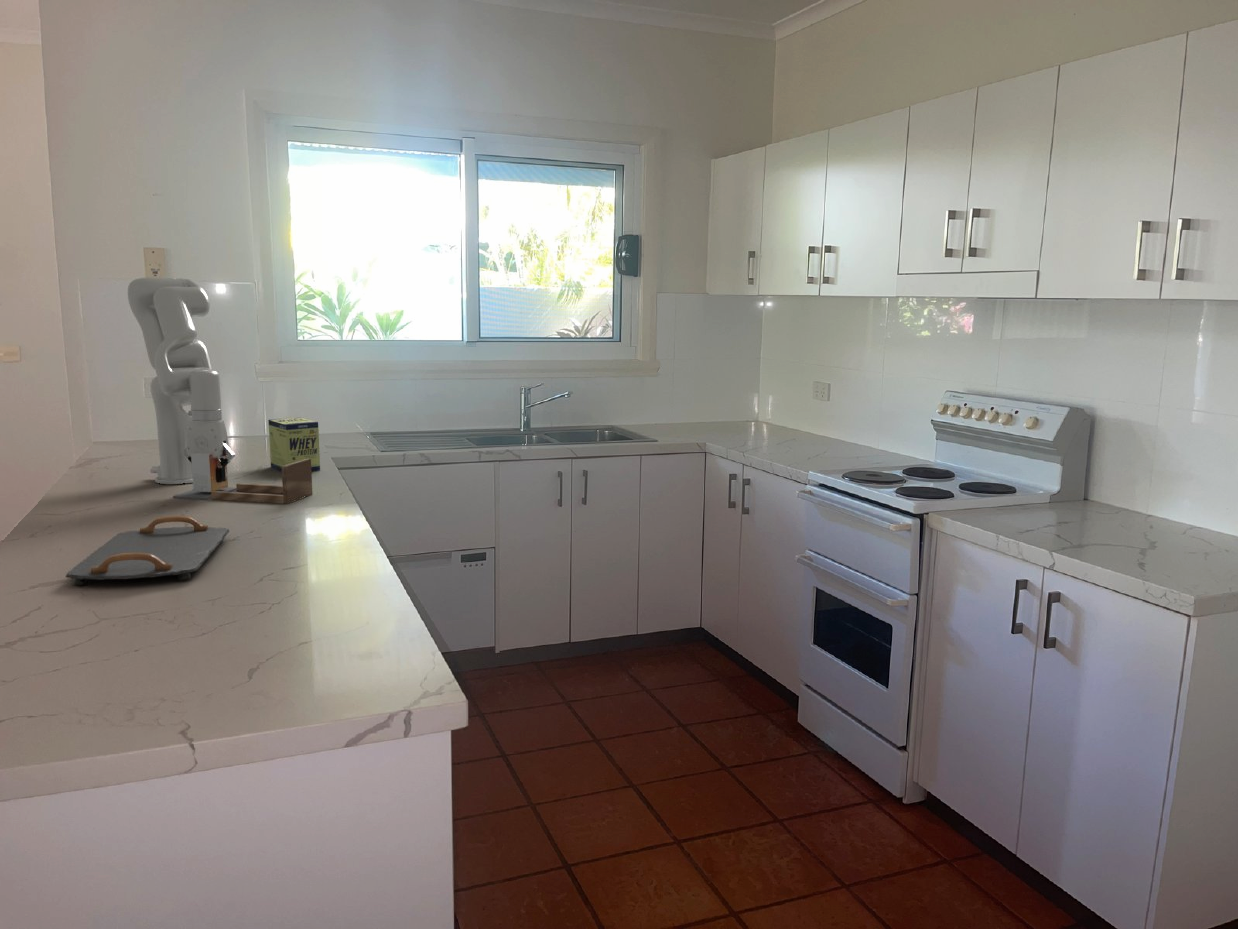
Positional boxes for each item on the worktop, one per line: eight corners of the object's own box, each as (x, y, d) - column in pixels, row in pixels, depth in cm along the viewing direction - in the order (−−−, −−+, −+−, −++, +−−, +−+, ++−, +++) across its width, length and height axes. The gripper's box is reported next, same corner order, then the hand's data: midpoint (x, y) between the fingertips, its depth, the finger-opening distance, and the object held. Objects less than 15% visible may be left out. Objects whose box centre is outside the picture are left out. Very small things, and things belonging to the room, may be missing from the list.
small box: (211, 493, 247) (208, 454, 245) (192, 491, 248) (190, 453, 246) (229, 487, 255) (226, 450, 253) (211, 485, 256) (208, 448, 254)
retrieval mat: (173, 497, 246) (173, 495, 246) (206, 487, 260) (206, 486, 260) (206, 499, 244) (206, 497, 244) (237, 489, 258) (237, 487, 258)
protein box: (288, 474, 282) (286, 424, 279) (269, 467, 294) (267, 419, 291) (321, 470, 289) (319, 421, 286) (301, 463, 300) (299, 416, 298)
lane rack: (211, 499, 245) (208, 462, 243) (239, 490, 257) (237, 455, 255) (287, 503, 240) (285, 466, 239) (312, 494, 252) (310, 458, 251)
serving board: (124, 541, 203) (121, 514, 202) (235, 537, 208) (233, 510, 206) (57, 595, 165) (54, 562, 164) (194, 588, 170) (192, 555, 169)
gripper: (169, 416, 246) (173, 481, 249) (226, 418, 243) (230, 485, 246) (187, 412, 253) (191, 476, 257) (243, 415, 250) (246, 480, 253)
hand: (210, 480), depth 251 cm, fingers closed on small box, 5 cm apart
